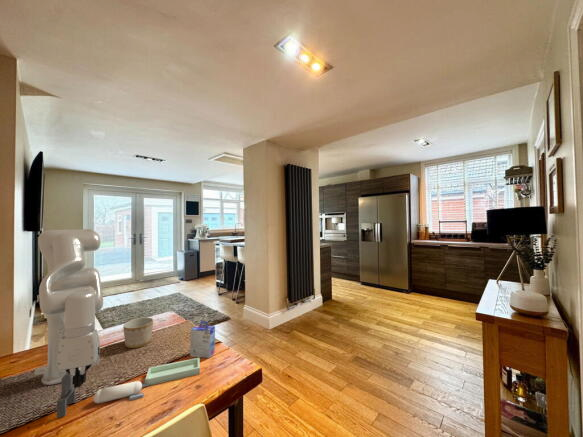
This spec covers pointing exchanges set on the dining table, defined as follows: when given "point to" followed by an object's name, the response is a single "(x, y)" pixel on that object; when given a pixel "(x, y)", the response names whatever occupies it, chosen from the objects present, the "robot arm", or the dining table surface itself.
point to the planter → (138, 332)
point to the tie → (65, 395)
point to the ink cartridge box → (202, 341)
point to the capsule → (117, 392)
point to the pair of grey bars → (138, 394)
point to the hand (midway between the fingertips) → (79, 385)
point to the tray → (172, 371)
